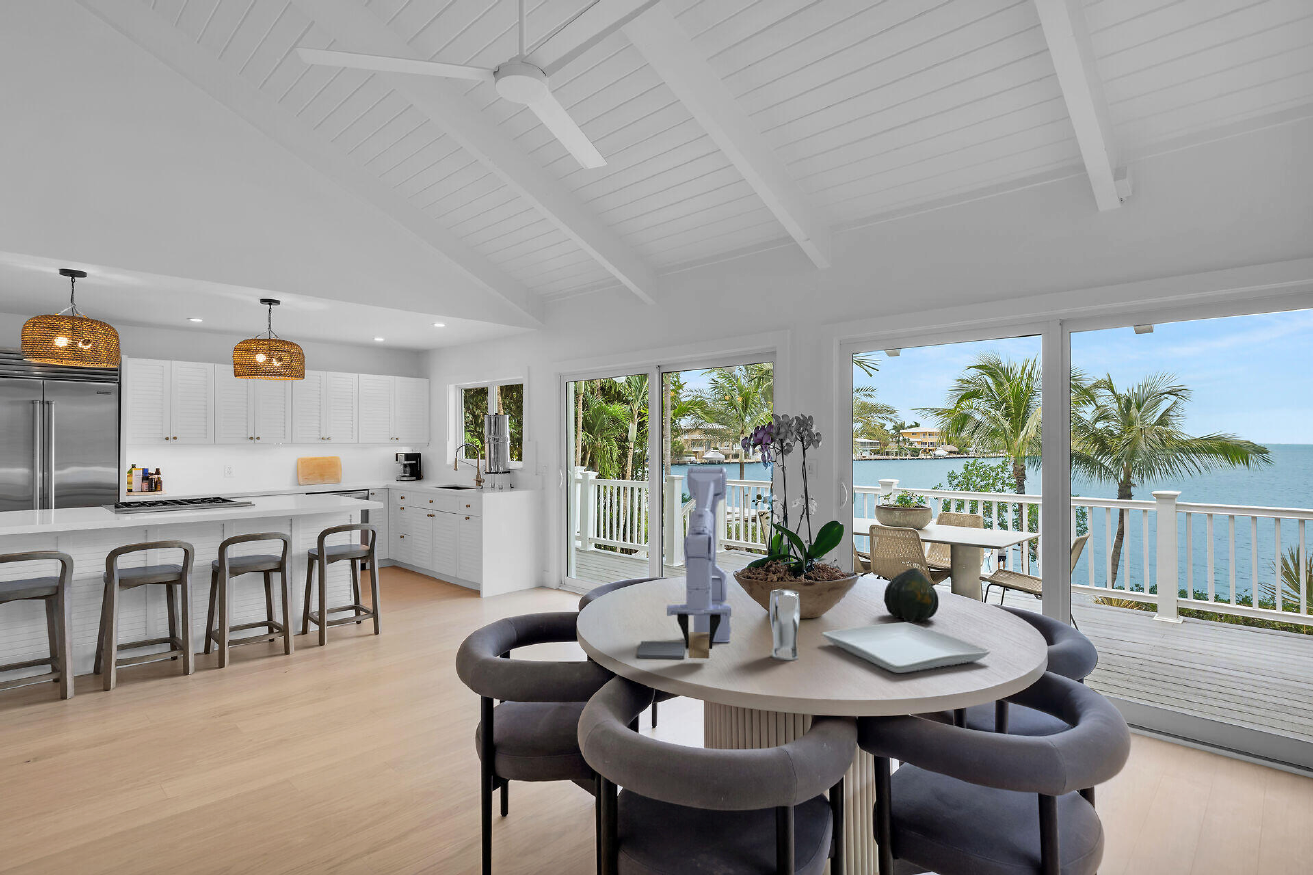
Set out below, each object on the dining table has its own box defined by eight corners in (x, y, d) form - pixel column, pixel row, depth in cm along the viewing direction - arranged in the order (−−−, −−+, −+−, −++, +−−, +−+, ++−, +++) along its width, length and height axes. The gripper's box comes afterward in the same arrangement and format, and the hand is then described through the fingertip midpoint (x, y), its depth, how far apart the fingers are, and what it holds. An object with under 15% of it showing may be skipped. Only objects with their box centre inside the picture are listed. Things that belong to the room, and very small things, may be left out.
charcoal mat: (685, 645, 165) (685, 641, 165) (684, 659, 154) (684, 655, 154) (641, 644, 166) (641, 640, 166) (636, 657, 155) (636, 654, 155)
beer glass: (804, 655, 157) (803, 591, 157) (794, 663, 151) (794, 596, 151) (776, 650, 160) (775, 588, 160) (765, 658, 154) (765, 593, 155)
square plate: (820, 646, 165) (819, 630, 165) (907, 635, 175) (907, 620, 175) (896, 681, 140) (895, 663, 140) (993, 666, 150) (993, 648, 150)
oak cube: (709, 652, 152) (709, 632, 152) (709, 658, 148) (709, 638, 148) (689, 651, 152) (689, 632, 153) (688, 657, 148) (688, 637, 148)
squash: (883, 605, 183) (919, 564, 184) (868, 595, 198) (901, 558, 199) (923, 640, 182) (958, 599, 183) (904, 628, 197) (937, 590, 198)
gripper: (665, 590, 147) (666, 652, 147) (731, 591, 146) (732, 653, 146) (667, 583, 154) (667, 642, 154) (730, 584, 153) (730, 644, 153)
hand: (699, 647), depth 150 cm, fingers closed on oak cube, 4 cm apart
